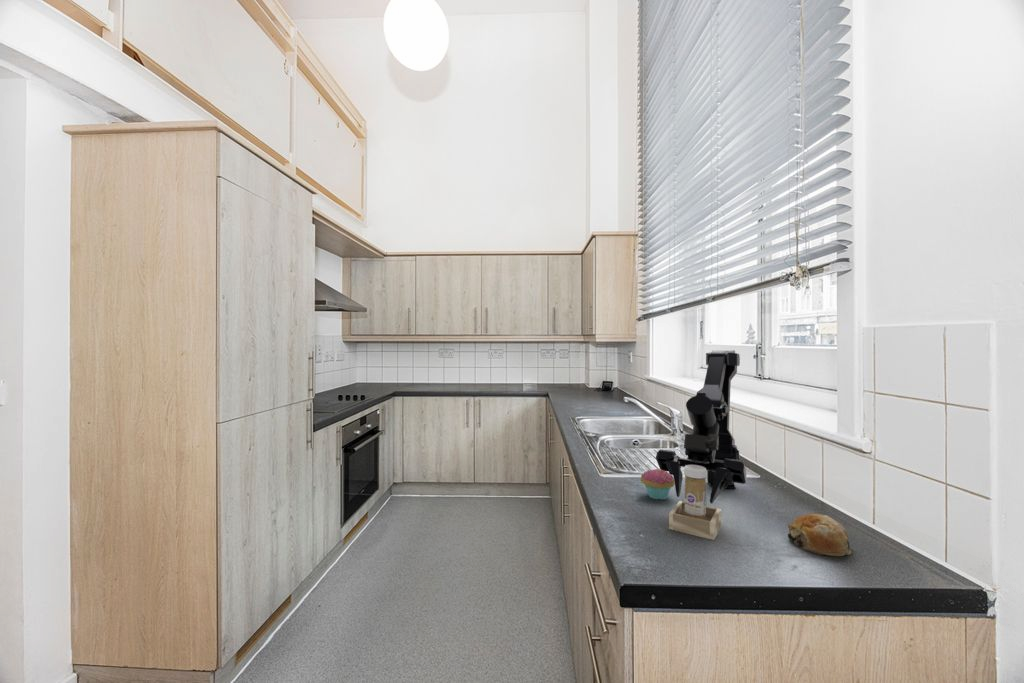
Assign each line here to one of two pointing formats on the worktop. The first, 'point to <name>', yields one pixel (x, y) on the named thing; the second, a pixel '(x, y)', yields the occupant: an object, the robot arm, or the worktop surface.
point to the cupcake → (657, 483)
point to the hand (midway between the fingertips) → (694, 499)
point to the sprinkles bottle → (695, 491)
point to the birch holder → (695, 522)
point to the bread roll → (819, 535)
